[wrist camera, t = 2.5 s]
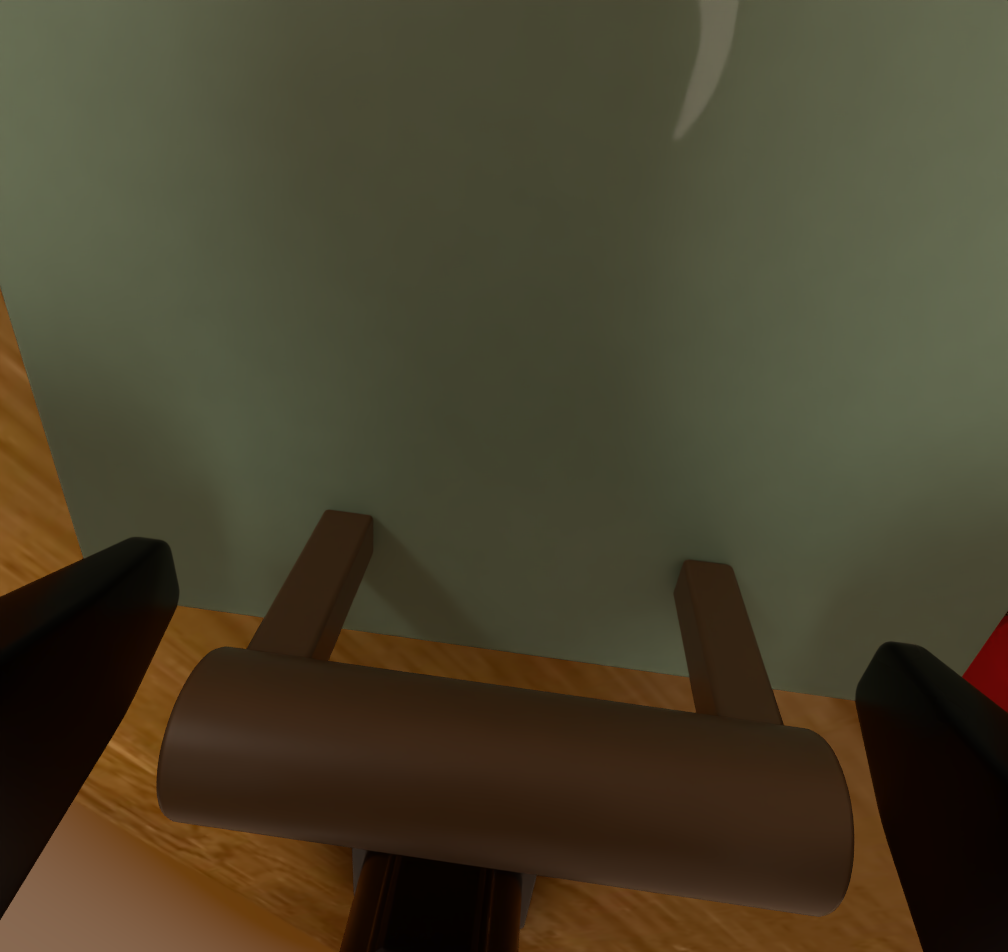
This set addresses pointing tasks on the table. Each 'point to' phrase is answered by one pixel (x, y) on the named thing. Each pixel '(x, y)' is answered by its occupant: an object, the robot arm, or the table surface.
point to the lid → (526, 394)
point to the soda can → (992, 667)
